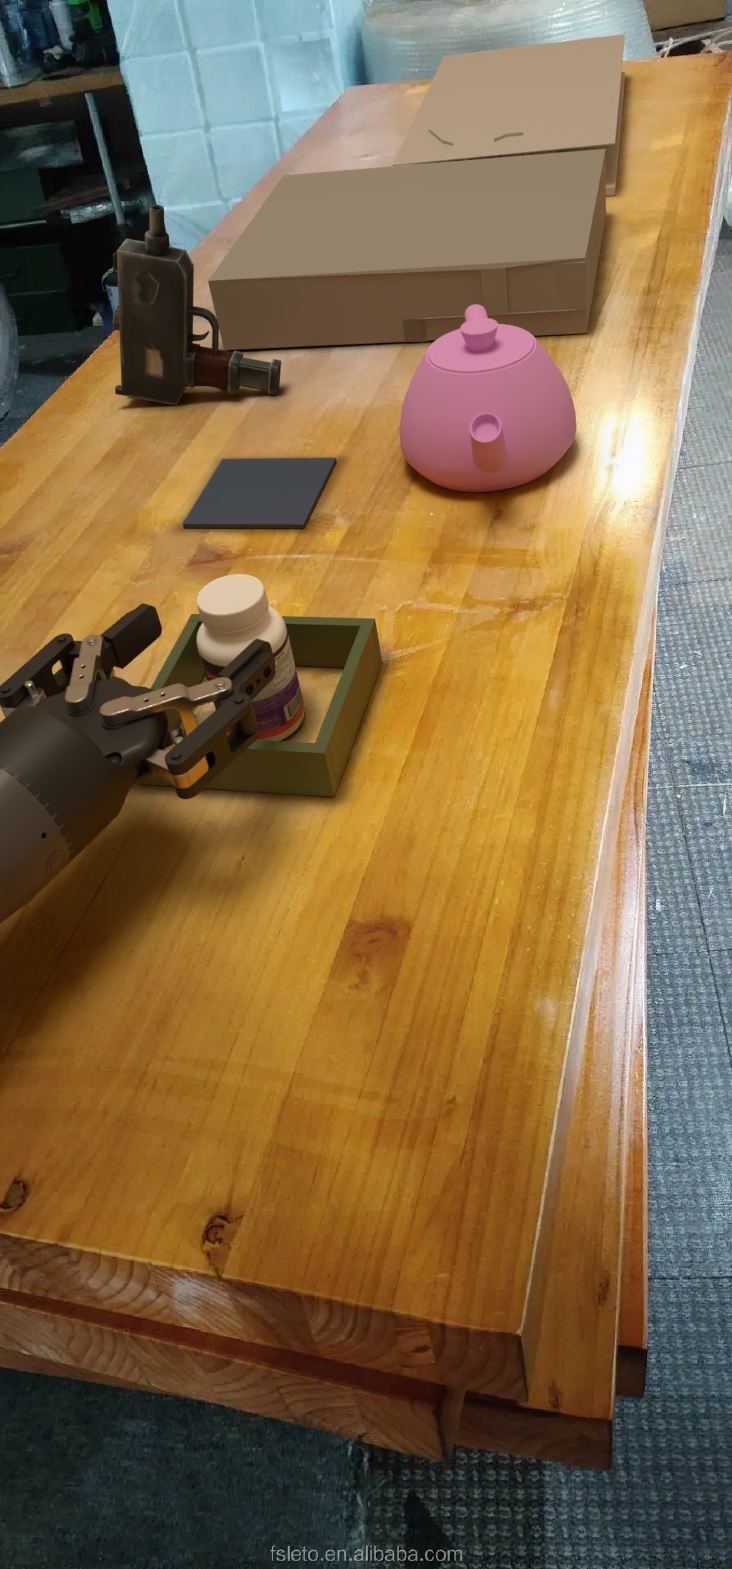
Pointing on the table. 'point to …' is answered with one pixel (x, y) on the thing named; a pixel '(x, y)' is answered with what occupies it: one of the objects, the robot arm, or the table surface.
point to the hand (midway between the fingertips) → (209, 633)
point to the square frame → (327, 757)
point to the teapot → (486, 408)
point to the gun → (172, 327)
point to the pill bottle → (229, 627)
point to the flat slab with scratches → (523, 104)
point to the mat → (261, 493)
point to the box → (416, 252)
